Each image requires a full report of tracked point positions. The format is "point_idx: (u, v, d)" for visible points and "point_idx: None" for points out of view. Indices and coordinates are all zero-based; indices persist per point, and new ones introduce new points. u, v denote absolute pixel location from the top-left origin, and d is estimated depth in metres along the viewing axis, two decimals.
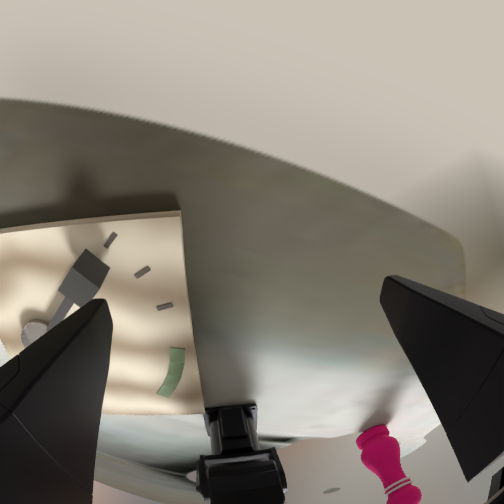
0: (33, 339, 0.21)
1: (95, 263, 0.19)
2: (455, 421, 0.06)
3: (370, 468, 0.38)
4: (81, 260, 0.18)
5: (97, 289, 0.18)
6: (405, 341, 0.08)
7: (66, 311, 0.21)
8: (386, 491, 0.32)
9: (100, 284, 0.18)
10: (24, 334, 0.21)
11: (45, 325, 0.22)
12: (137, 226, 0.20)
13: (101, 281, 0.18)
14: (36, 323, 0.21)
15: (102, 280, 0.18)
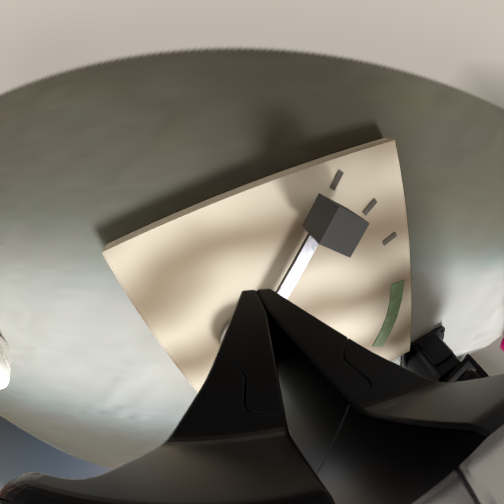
0: None
1: (339, 204, 0.18)
2: None
3: None
4: (333, 201, 0.17)
5: (367, 224, 0.17)
6: None
7: (294, 281, 0.21)
8: None
9: None
10: None
11: None
12: (361, 158, 0.19)
13: (361, 217, 0.17)
14: None
15: None
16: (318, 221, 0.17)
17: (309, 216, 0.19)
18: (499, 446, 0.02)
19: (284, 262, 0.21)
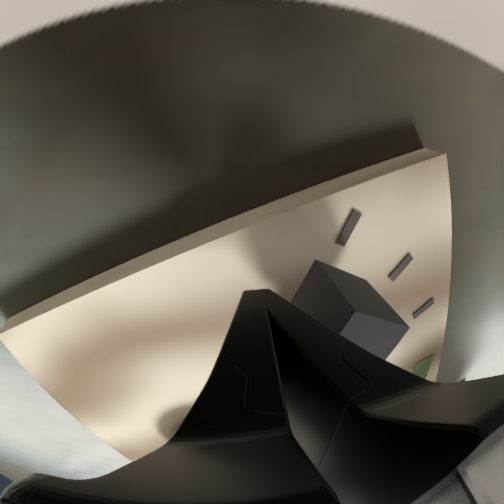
0: None
1: (352, 281, 0.09)
2: None
3: None
4: (342, 287, 0.08)
5: (405, 331, 0.08)
6: None
7: None
8: None
9: (400, 318, 0.08)
10: None
11: None
12: (393, 185, 0.10)
13: (394, 311, 0.09)
14: None
15: (391, 309, 0.09)
16: None
17: (294, 303, 0.10)
18: (497, 447, 0.02)
19: None
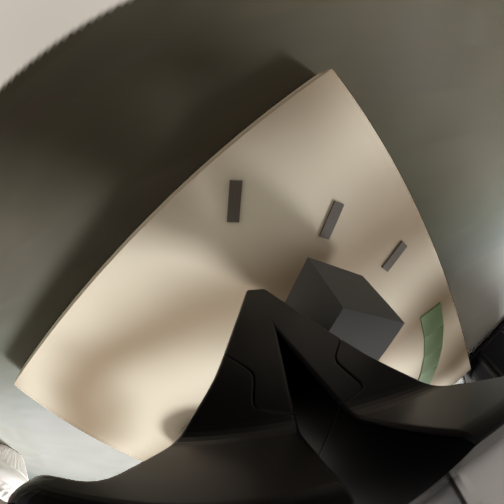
0: None
1: (346, 278, 0.09)
2: None
3: None
4: (333, 284, 0.08)
5: (399, 327, 0.08)
6: None
7: None
8: None
9: (395, 314, 0.08)
10: None
11: None
12: (269, 135, 0.09)
13: (389, 307, 0.08)
14: None
15: (386, 304, 0.09)
16: None
17: (289, 301, 0.10)
18: (492, 452, 0.02)
19: (212, 357, 0.12)
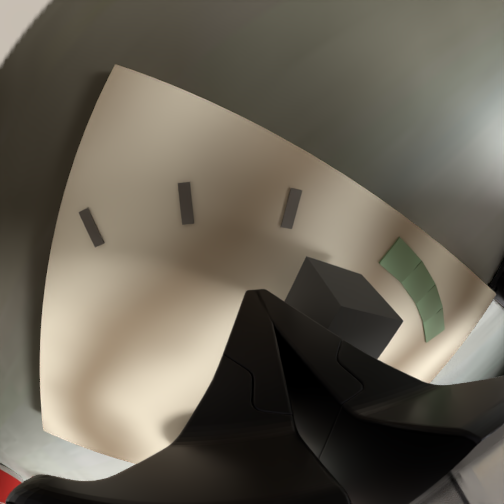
0: None
1: (345, 276, 0.09)
2: None
3: None
4: (331, 282, 0.08)
5: (398, 325, 0.08)
6: None
7: None
8: None
9: (394, 312, 0.08)
10: None
11: None
12: (89, 157, 0.08)
13: (388, 305, 0.08)
14: None
15: (385, 302, 0.09)
16: None
17: (288, 301, 0.10)
18: (493, 451, 0.02)
19: (160, 367, 0.12)
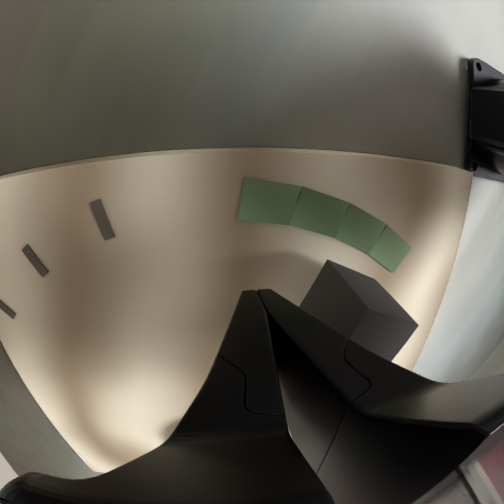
0: None
1: (363, 281, 0.10)
2: None
3: None
4: (354, 286, 0.09)
5: (414, 328, 0.08)
6: None
7: None
8: None
9: (409, 316, 0.08)
10: None
11: None
12: None
13: (403, 310, 0.09)
14: None
15: (401, 307, 0.09)
16: (324, 322, 0.09)
17: (307, 302, 0.10)
18: (499, 446, 0.02)
19: (115, 392, 0.12)
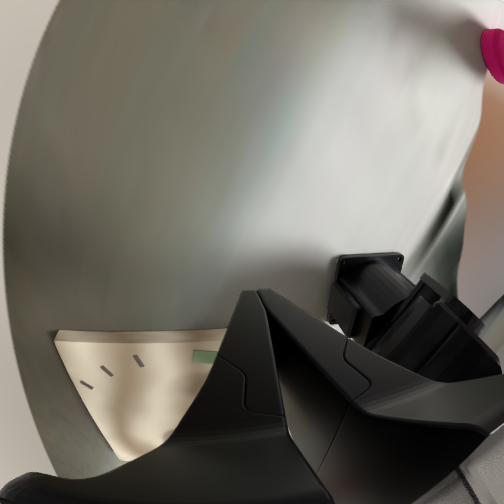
0: None
1: None
2: None
3: None
4: None
5: None
6: None
7: None
8: None
9: None
10: None
11: None
12: (70, 367, 0.22)
13: None
14: None
15: None
16: None
17: None
18: (499, 446, 0.02)
19: (142, 417, 0.26)
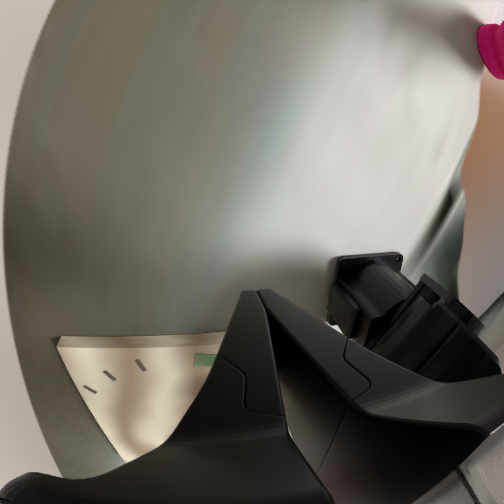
0: None
1: None
2: None
3: None
4: None
5: None
6: None
7: None
8: None
9: None
10: None
11: None
12: (73, 372, 0.22)
13: None
14: None
15: None
16: None
17: None
18: (499, 446, 0.02)
19: (145, 420, 0.26)
